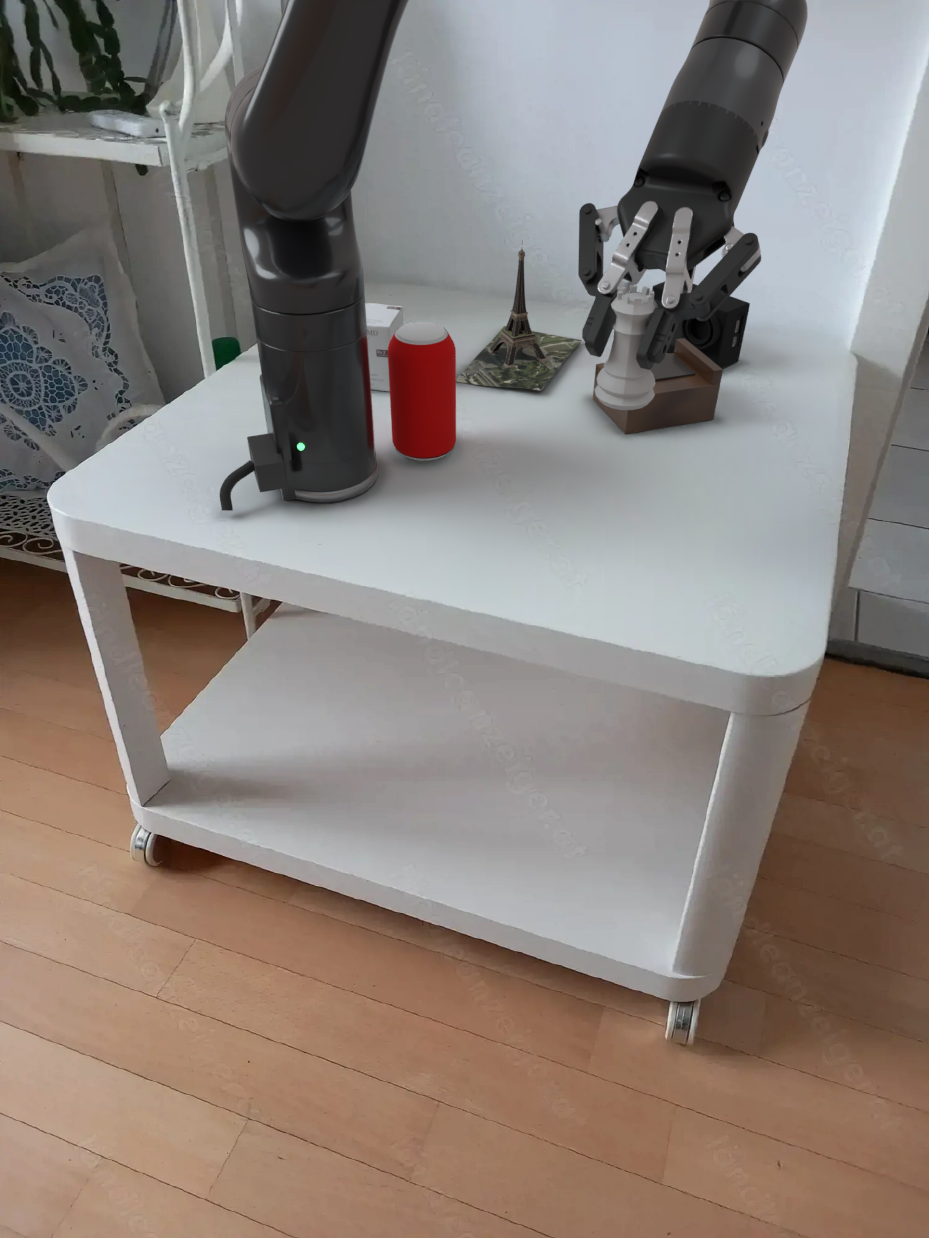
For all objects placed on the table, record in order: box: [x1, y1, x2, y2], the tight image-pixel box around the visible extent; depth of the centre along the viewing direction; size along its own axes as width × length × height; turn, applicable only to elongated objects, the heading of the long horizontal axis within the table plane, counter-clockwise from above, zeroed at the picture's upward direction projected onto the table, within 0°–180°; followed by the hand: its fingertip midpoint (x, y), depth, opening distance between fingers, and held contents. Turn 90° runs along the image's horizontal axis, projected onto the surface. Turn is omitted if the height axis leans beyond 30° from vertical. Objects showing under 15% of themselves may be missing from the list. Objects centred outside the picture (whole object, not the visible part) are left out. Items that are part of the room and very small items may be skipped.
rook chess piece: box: [593, 284, 658, 410], centre depth 67 cm, size 4×4×8 cm
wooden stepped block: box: [592, 338, 724, 435], centre depth 96 cm, size 10×8×6 cm
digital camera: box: [650, 281, 751, 370], centre depth 106 cm, size 10×5×7 cm, turn 42°
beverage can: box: [388, 321, 457, 462], centre depth 87 cm, size 6×6×12 cm
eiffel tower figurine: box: [456, 239, 583, 391], centre depth 102 cm, size 15×10×13 cm
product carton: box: [365, 302, 404, 392], centre depth 101 cm, size 6×6×7 cm
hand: (618, 357), depth 66 cm, fingers closed on rook chess piece, 3 cm apart
